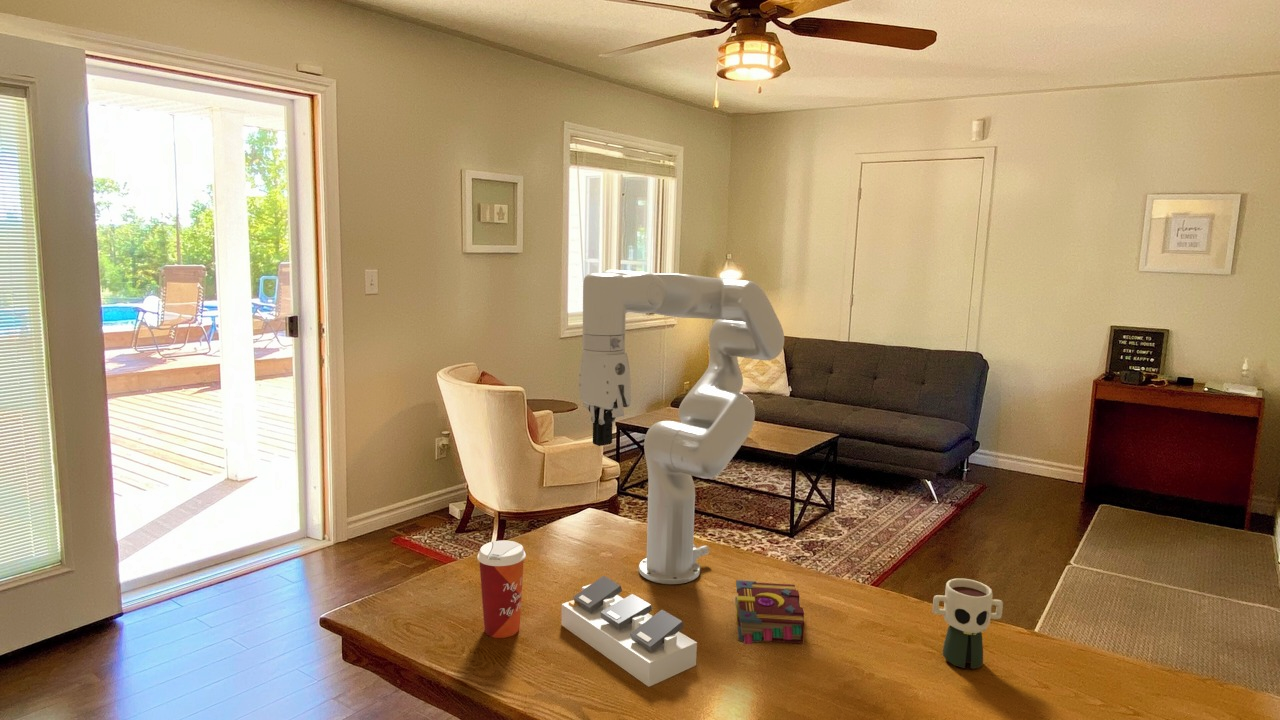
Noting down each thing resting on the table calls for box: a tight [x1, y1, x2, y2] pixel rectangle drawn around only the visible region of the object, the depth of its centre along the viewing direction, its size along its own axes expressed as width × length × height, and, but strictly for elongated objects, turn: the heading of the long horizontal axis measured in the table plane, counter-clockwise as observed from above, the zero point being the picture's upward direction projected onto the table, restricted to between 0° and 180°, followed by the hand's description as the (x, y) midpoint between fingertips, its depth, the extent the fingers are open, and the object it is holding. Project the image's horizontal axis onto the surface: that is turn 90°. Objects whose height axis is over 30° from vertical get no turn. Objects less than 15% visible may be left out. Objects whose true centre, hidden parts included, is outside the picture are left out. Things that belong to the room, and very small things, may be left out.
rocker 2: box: [630, 609, 685, 653], centre depth 125 cm, size 7×5×2 cm
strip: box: [560, 583, 698, 688], centre depth 133 cm, size 10×27×6 cm, turn 40°
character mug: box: [932, 578, 1004, 669], centre depth 128 cm, size 11×7×13 cm, turn 83°
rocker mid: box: [600, 593, 653, 630], centre depth 131 cm, size 7×5×2 cm
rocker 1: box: [572, 575, 623, 613], centre depth 137 cm, size 7×5×2 cm
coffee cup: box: [476, 539, 527, 639], centre depth 135 cm, size 8×8×15 cm
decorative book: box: [735, 579, 805, 645], centre depth 140 cm, size 11×16×5 cm
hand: (602, 443), depth 141 cm, fingers closed
